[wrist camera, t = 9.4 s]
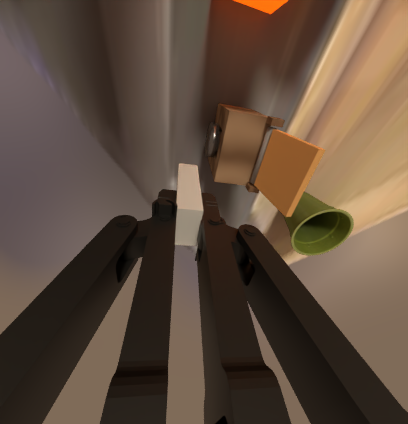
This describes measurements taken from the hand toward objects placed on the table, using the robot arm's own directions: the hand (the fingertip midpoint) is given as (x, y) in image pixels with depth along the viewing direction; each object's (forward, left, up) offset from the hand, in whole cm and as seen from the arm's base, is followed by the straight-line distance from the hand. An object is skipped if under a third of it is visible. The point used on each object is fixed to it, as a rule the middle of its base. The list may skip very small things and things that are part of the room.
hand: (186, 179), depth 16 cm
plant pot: (+13, +28, -23) cm, 38 cm away
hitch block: (0, +8, -22) cm, 24 cm away
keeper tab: (0, +11, -7) cm, 13 cm away
